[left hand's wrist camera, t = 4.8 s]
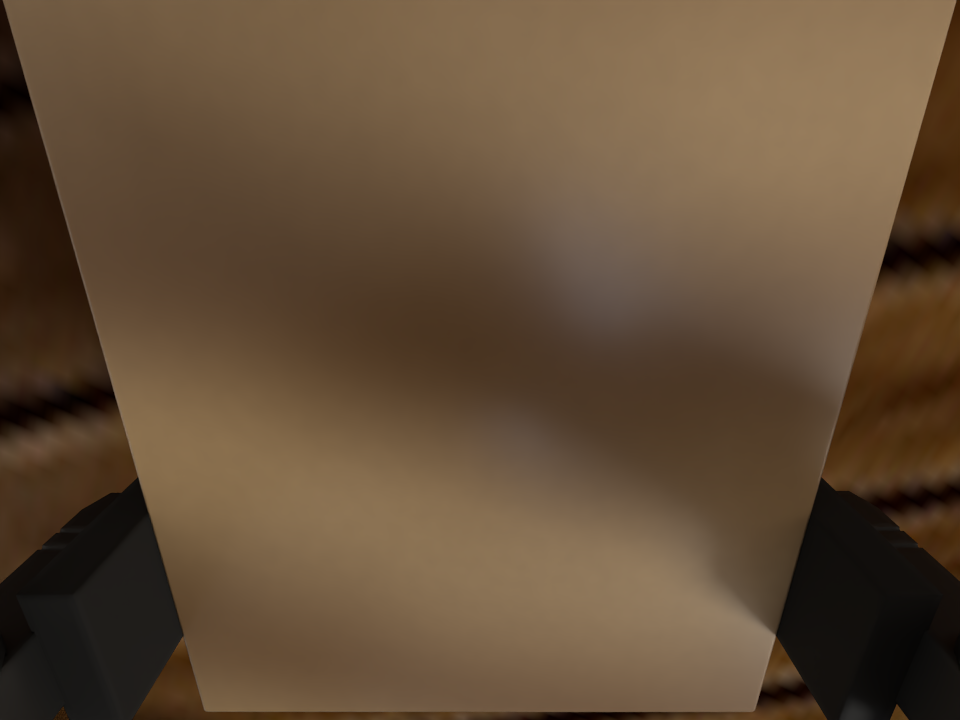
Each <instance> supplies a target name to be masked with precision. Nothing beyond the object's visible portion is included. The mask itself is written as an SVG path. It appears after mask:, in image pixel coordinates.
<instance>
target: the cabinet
mask: <svg viewBox="0 0 960 720" xmlns="http://www.w3.org/2000/svg"><path fill="white" fill-rule="evenodd" d="M3 2H4V6H5V9H6V13H7V16H8V20H9V23H10V27H11V30H12V34H13V38H14V41H15V45H16V48H17V52H18V55H19V59H20V62H21V66H22V69H23V73H24V76H25V80H26V83H27V87H28V90H29V94H30V97H31V101H32V104H33V108H34V112H35V115H36V119H37V122H38V126H39V129H40V133H41V136H42V140H43V143H44V147H45V150H46V154H47V157H48V161H49V164H50V168H51V171H52V175H53V179H54V182H55V186H56V189H57V193H58V196H59V200H60V203H61V207H62V210H63V214H64V217H65V221H66V224H67V228H68V231H69V235H70V238H71V242H72V245H73V249H74V253H75V256H76V260H77V263H78V267H79V270H80V274H81V277H82V281H83V284H84V288H85V291H86V295H87V298H88V302H89V305H90V309H91V312H92V316H93V319H94V323H95V327H96V330H97V334H98V337H99V341H100V344H101V348H102V351H103V355H104V358H105V362H106V365H107V369H108V372H109V376H110V379H111V383H112V386H113V390H114V394H115V397H116V401H117V404H118V408H119V411H120V415H121V418H122V422H123V425H124V429H125V432H126V436H127V439H128V443H129V446H130V450H131V453H132V457H133V460H134V464H135V468H136V471H137V475H138V478H139V482H140V485H141V489H142V492H143V496H144V499H145V503H146V506H147V510H148V513H149V517H150V520H151V524H152V527H153V531H154V534H155V538H156V542H157V545H158V549H159V552H160V556H161V559H162V563H163V566H164V570H165V573H166V577H167V580H168V584H169V587H170V591H171V594H172V598H173V601H174V605H175V609H176V612H177V616H178V619H179V623H180V626H181V630H182V633H183V637H184V640H185V644H186V647H187V651H188V654H189V658H190V661H191V665H192V668H193V672H194V675H195V679H196V683H197V686H198V690H199V693H200V697H201V700H202V704H203V707H204V710H205V711H207V712H753V711H754V710H755V708H756V705H757V701H758V698H759V694H760V691H761V687H762V684H763V680H764V677H765V673H766V669H767V666H768V662H769V659H770V655H771V652H772V648H773V645H774V641H775V638H776V634H777V631H778V627H779V624H780V620H781V617H782V613H783V610H784V606H785V603H786V599H787V595H788V592H789V588H790V585H791V581H792V578H793V574H794V571H795V567H796V564H797V560H798V557H799V553H800V550H801V546H802V543H803V539H804V536H805V532H806V529H807V525H808V521H809V518H810V514H811V511H812V507H813V504H814V500H815V497H816V493H817V490H818V486H819V483H820V479H821V476H822V472H823V469H824V465H825V462H826V458H827V455H828V451H829V448H830V444H831V440H832V437H833V433H834V430H835V426H836V423H837V419H838V416H839V412H840V409H841V405H842V402H843V398H844V395H845V391H846V388H847V384H848V381H849V377H850V374H851V370H852V366H853V363H854V359H855V356H856V352H857V349H858V345H859V342H860V338H861V335H862V331H863V328H864V324H865V321H866V317H867V314H868V310H869V307H870V303H871V300H872V296H873V292H874V289H875V285H876V282H877V278H878V275H879V271H880V268H881V264H882V261H883V257H884V254H885V250H886V247H887V243H888V240H889V236H890V233H891V229H892V226H893V222H894V219H895V215H896V211H897V208H898V204H899V201H900V197H901V194H902V190H903V187H904V183H905V180H906V176H907V173H908V169H909V166H910V162H911V159H912V155H913V152H914V148H915V145H916V141H917V137H918V134H919V130H920V127H921V123H922V120H923V116H924V113H925V109H926V106H927V102H928V99H929V95H930V92H931V88H932V85H933V81H934V78H935V74H936V71H937V67H938V63H939V60H940V56H941V53H942V49H943V46H944V42H945V39H946V35H947V32H948V28H949V25H950V21H951V18H952V14H953V11H954V7H955V4H956V0H3Z"/></svg>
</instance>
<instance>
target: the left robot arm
mask: <svg viewBox="0 0 960 720" xmlns="http://www.w3.org/2000/svg"><path fill="white" fill-rule="evenodd" d="M917 544H918V543H916V542H915V541H914V540H913V539H912V538H911V537H910V536H909V535H908V534H906V533H905V532H904V531H900V529H899V526H898V525H896V524H895V523H894V522H893V521H892V520H891V519H890V518H889V517H888V516H886V515H885V514H884V513H883V512H882V511H881V510H880V509H879V508H877V507H876V506H874V505H872V504H870V503H869V502H867V501H865V500H864V499H862V498H860V497H858V496H857V495H855V494H853V493H851V492H850V491H835V490H834V489H833V488H832V487H831V486H830V485H829V484H828V483H827V482H826V481H825V480H824V479H823V478H822V477H821V479H820V483H819V486H818V490H817V493H816V497H815V500H814V504H813V507H812V511H811V514H810V518H809V521H808V525H807V529H806V532H805V536H804V539H803V543H802V546H801V550H800V553H799V557H798V560H797V564H796V567H795V571H794V574H793V578H792V581H791V585H790V588H789V592H788V595H787V599H786V603H785V606H784V610H783V613H782V617H781V620H780V624H779V627H778V631H777V634H776V636H777V638H778V639H779V641H780V643H781V644H782V646H783V647H784V649H785V651H786V652H787V654H788V656H789V657H790V659H791V661H792V662H793V664H794V666H795V667H796V669H797V670H798V672H799V674H800V675H801V677H802V679H803V680H804V682H805V684H806V685H807V687H808V689H809V690H810V692H811V693H812V695H813V697H814V698H815V700H816V702H817V703H818V705H819V707H820V708H821V710H822V711H823V713H824V715H825V716H826V718H827V720H890V718H891V716H892V714H893V711H894V709H895V707H896V704H898V706H899V707H900V708H901V710H902V711H903V712H904V714H905V715H906V716H907V718H908V719H909V720H960V581H959V580H957V579H956V578H955V577H954V576H953V575H952V574H951V573H950V572H949V571H947V570H946V569H945V568H944V567H943V566H942V565H941V564H940V563H939V562H938V561H936V560H935V559H934V558H933V557H932V556H931V555H930V554H929V553H928V552H926V551H925V550H924V549H923V548H919V547H918V545H917ZM182 637H183V633H182V630H181V626H180V623H179V619H178V616H177V612H176V609H175V605H174V601H173V598H172V594H171V591H170V587H169V584H168V580H167V577H166V573H165V570H164V566H163V563H162V559H161V556H160V552H159V549H158V545H157V542H156V538H155V534H154V531H153V527H152V524H151V520H150V517H149V513H148V510H147V506H146V503H145V499H144V496H143V492H142V489H141V485H140V482H139V478H137V479H136V480H135V481H134V482H133V483H132V484H130V485H129V486H128V487H127V488H126V489H125V490H124V491H123V492H122V493H110V494H108V495H107V496H105V497H103V498H101V499H100V500H98V501H96V502H94V503H93V504H91V505H89V506H88V507H86V508H84V509H82V510H81V511H80V512H79V513H78V514H77V515H76V516H75V517H73V518H72V519H71V520H70V521H69V522H68V523H67V524H66V525H65V526H63V527H62V528H61V531H60V533H56V534H55V535H54V536H52V537H51V538H50V539H49V540H48V541H47V542H46V543H45V544H44V545H43V546H42V549H41V550H37V551H36V552H35V553H34V554H33V555H32V556H30V557H29V558H28V559H27V560H26V561H25V562H24V563H23V564H22V565H20V566H19V567H18V568H17V569H16V570H15V571H14V572H13V573H12V574H11V575H9V576H8V577H7V578H6V579H5V580H4V581H3V582H2V583H1V584H0V720H53V719H54V717H55V716H56V715H57V713H58V712H59V711H60V709H61V708H62V707H63V706H64V708H65V711H66V713H67V715H68V718H69V720H132V719H133V717H134V715H135V714H136V712H137V711H138V709H139V707H140V706H141V704H142V702H143V701H144V699H145V697H146V696H147V694H148V692H149V691H150V689H151V688H152V686H153V684H154V683H155V681H156V679H157V678H158V676H159V674H160V673H161V671H162V670H163V668H164V666H165V665H166V663H167V661H168V660H169V658H170V656H171V655H172V653H173V651H174V650H175V648H176V647H177V645H178V643H179V642H180V640H181V638H182Z"/></svg>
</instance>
